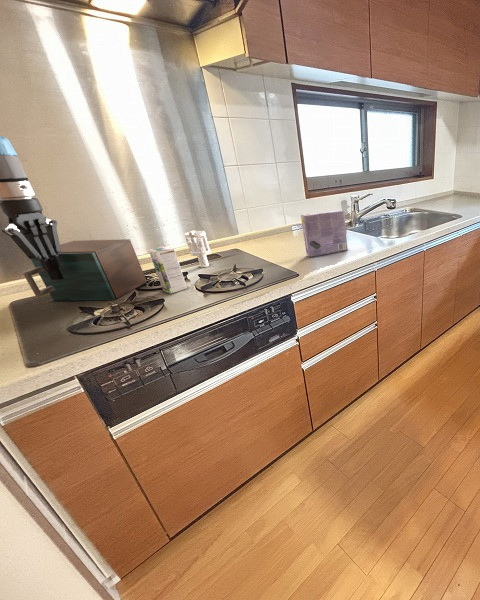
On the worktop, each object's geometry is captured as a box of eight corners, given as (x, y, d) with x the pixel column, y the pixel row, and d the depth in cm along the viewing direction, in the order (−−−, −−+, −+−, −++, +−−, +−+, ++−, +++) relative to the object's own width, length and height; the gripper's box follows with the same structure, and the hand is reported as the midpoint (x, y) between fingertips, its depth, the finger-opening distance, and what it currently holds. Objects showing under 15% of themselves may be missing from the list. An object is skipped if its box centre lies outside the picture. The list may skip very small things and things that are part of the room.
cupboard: (116, 298, 106) (95, 251, 99) (57, 299, 106) (31, 253, 99) (147, 282, 118) (130, 239, 111) (94, 283, 119) (73, 240, 112)
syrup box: (162, 290, 111) (146, 249, 104) (180, 284, 115) (166, 245, 109) (169, 294, 108) (154, 252, 101) (188, 288, 112) (174, 247, 106)
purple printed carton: (346, 247, 151) (341, 208, 144) (350, 249, 147) (346, 210, 140) (306, 255, 142) (299, 214, 134) (309, 258, 138) (303, 216, 130)
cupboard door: (99, 307, 100) (75, 258, 93) (37, 308, 101) (9, 260, 94) (115, 298, 106) (94, 252, 99) (56, 299, 106) (31, 253, 99)
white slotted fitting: (192, 269, 129) (179, 232, 123) (199, 264, 135) (187, 228, 129) (210, 268, 130) (199, 231, 124) (216, 262, 136) (206, 227, 130)
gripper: (4, 201, 82) (48, 286, 92) (53, 195, 94) (88, 271, 104) (-24, 202, 83) (23, 287, 92) (28, 196, 94) (65, 272, 104)
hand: (57, 279), depth 98 cm, fingers closed
